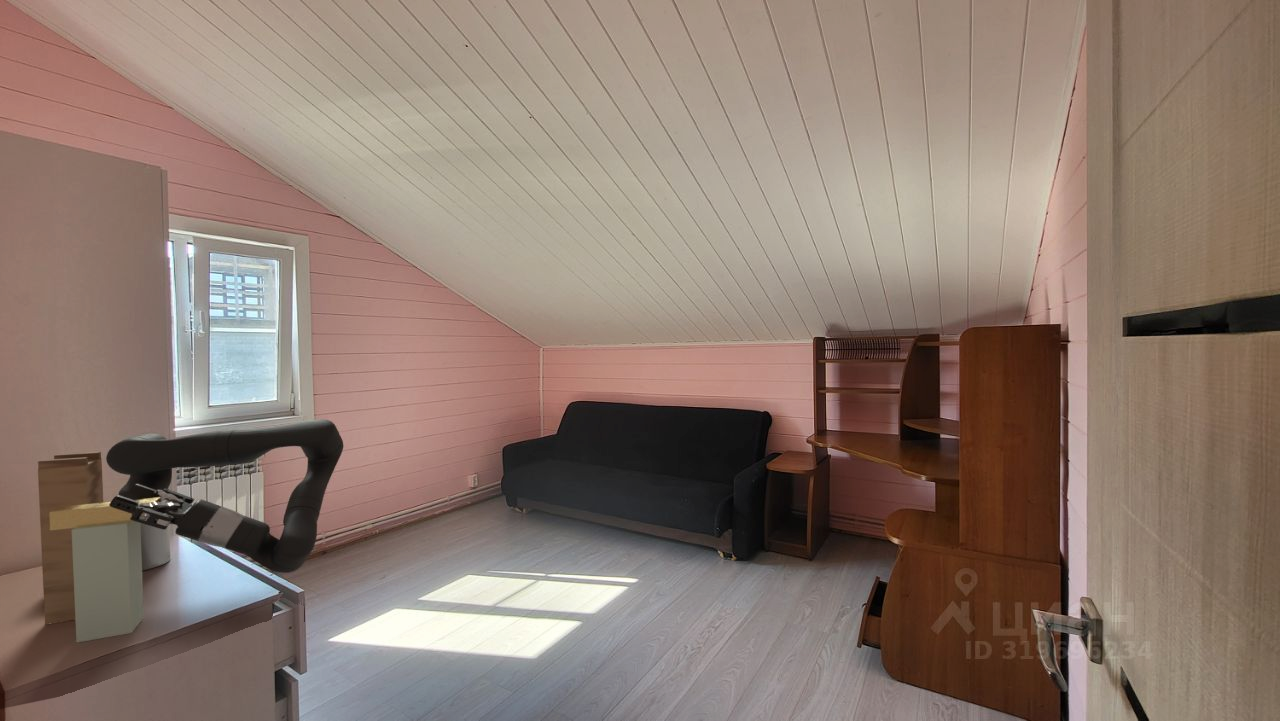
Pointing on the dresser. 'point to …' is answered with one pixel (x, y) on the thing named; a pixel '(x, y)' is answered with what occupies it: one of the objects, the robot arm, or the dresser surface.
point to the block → (107, 580)
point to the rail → (90, 515)
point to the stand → (64, 486)
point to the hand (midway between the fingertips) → (122, 494)
